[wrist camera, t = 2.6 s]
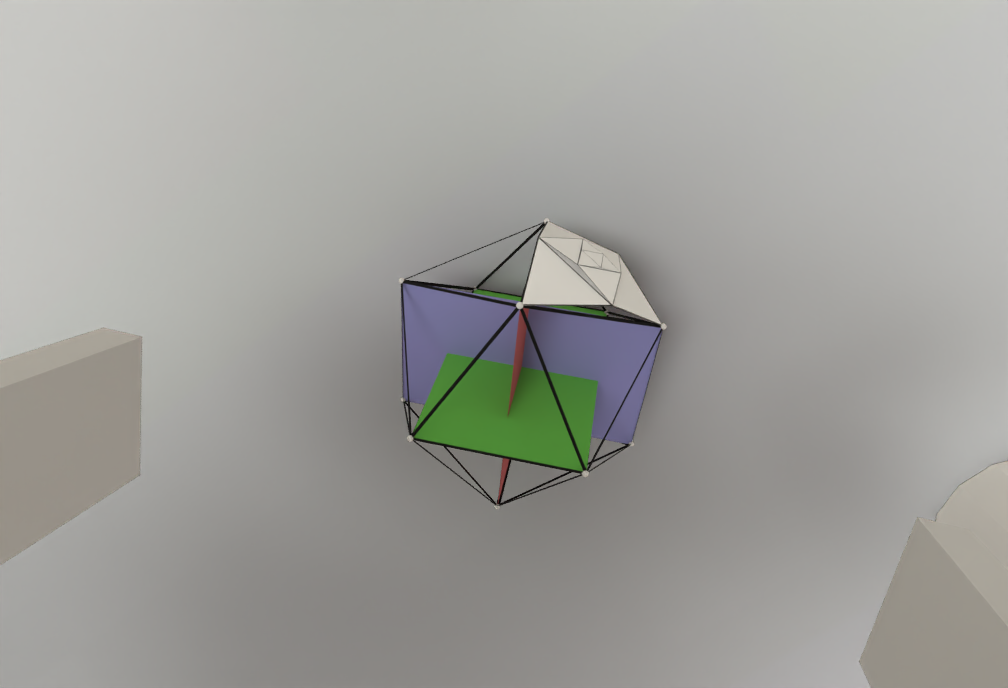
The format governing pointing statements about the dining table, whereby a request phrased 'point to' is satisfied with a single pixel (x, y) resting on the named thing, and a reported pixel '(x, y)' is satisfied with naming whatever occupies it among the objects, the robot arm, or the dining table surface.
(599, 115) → the dining table surface
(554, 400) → the geometric puzzle
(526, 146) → the dining table surface
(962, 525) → the white cup
